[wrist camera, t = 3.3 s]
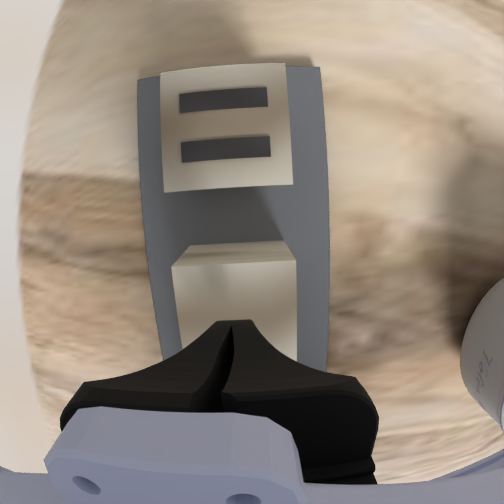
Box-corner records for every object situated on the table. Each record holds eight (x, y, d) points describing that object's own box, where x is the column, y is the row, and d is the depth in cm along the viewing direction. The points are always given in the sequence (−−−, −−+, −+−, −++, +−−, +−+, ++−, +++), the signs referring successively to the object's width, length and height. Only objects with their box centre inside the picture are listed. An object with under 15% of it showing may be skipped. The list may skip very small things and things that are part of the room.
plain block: (286, 326, 18) (296, 367, 14) (199, 330, 18) (186, 372, 14) (283, 240, 17) (295, 260, 13) (190, 245, 17) (171, 266, 13)
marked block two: (281, 184, 17) (293, 184, 12) (185, 189, 17) (163, 192, 12) (275, 91, 16) (285, 62, 11) (181, 98, 16) (159, 71, 11)
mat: (318, 430, 21) (320, 437, 20) (184, 436, 21) (182, 443, 20) (316, 71, 16) (319, 67, 15) (141, 83, 16) (137, 79, 15)
